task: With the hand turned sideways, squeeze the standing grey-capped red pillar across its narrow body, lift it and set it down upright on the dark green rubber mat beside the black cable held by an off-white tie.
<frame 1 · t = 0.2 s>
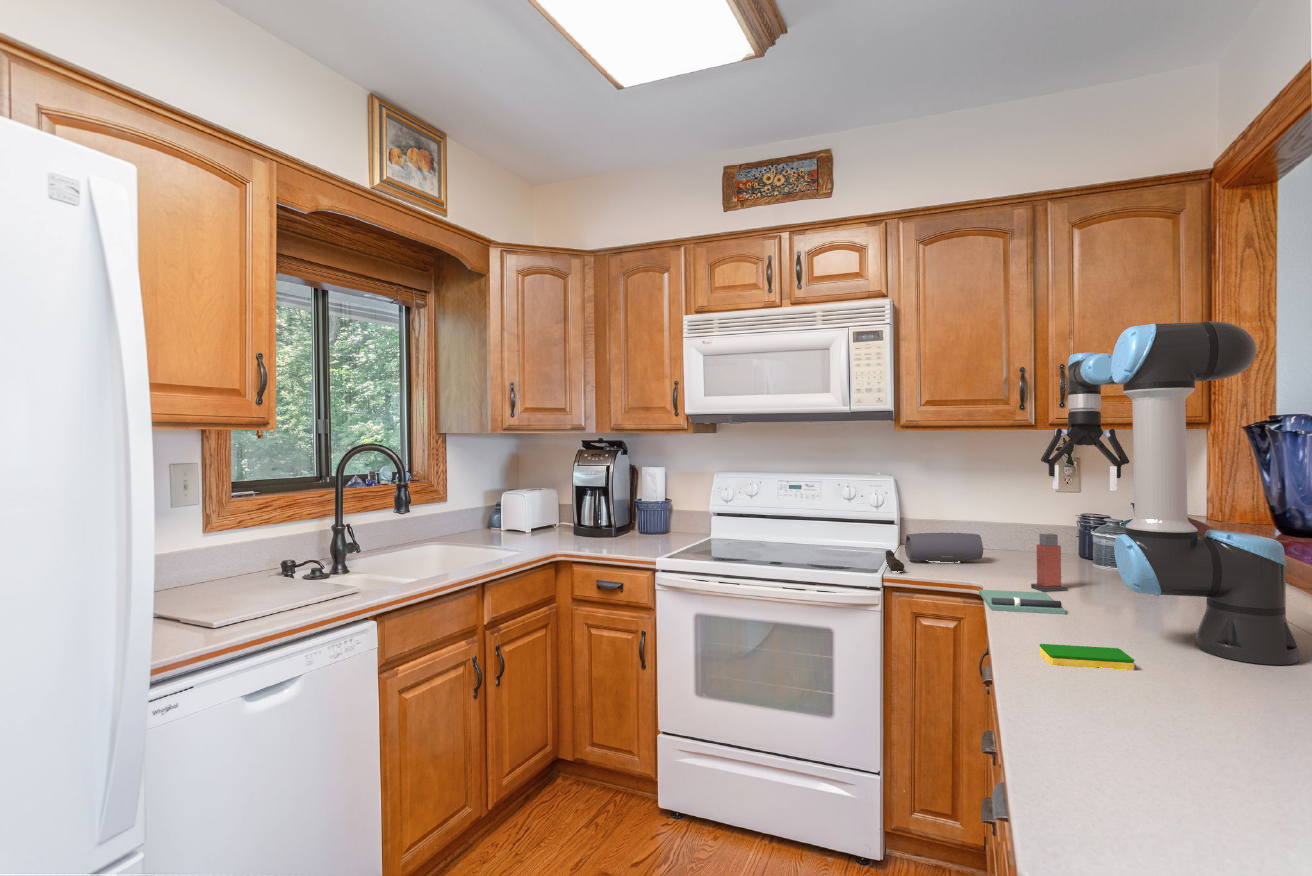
hand: (1084, 490, 182), 27 cm above the counter, tool pointing down, fingers open, 13 cm apart
cutting mat: (1019, 603, 172), on the counter
dish sponge: (1085, 665, 128), on the counter
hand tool: (890, 569, 219), on the counter
bluetooth speaker: (943, 563, 226), on the counter
grey-capped red pillar: (1049, 589, 186), on the counter
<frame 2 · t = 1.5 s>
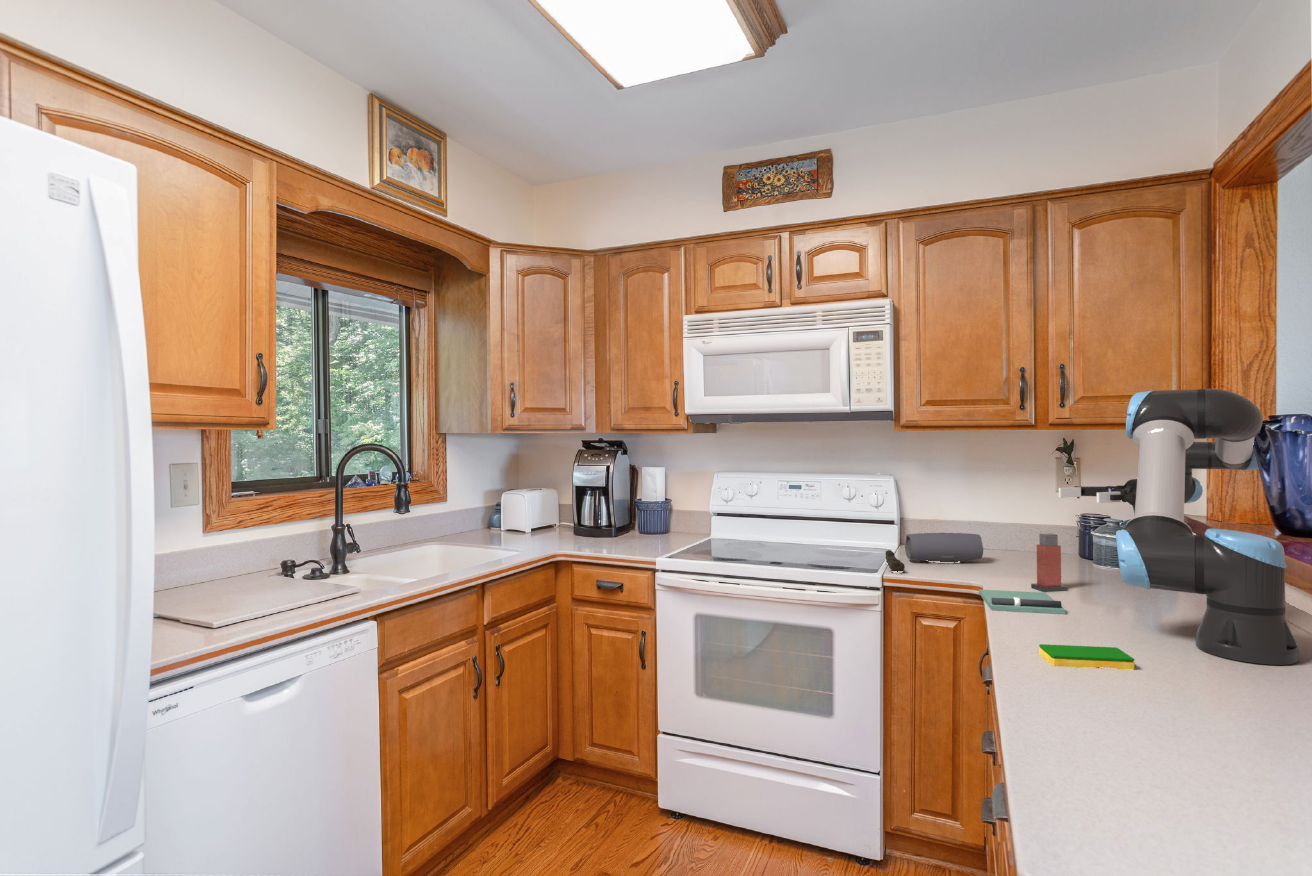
hand: (1077, 495, 187), 26 cm above the counter, tool horizontal, fingers open, 13 cm apart
nothing on the counter moved.
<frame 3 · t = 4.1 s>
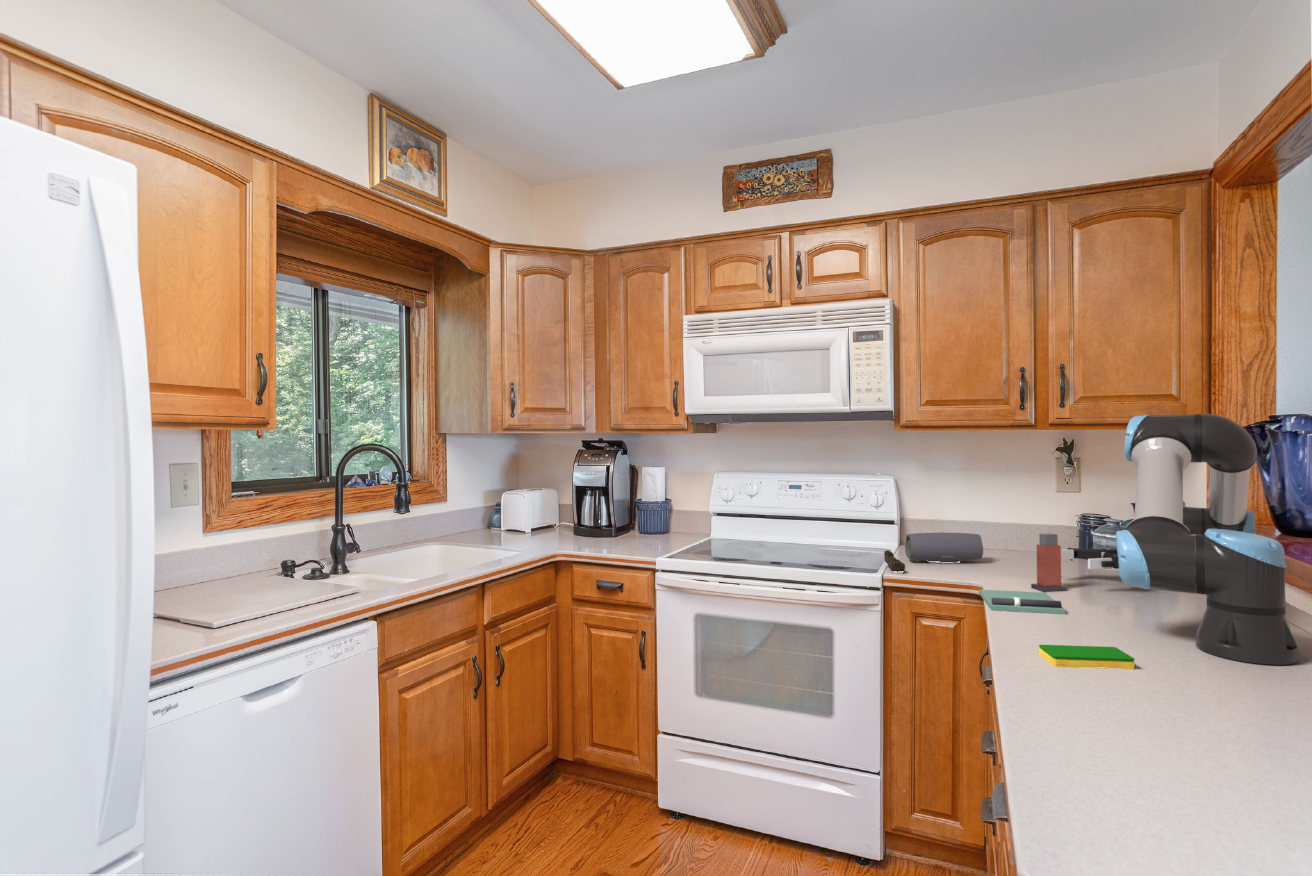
hand: (1069, 559, 187), 8 cm above the counter, tool horizontal, fingers open, 13 cm apart
nothing on the counter moved.
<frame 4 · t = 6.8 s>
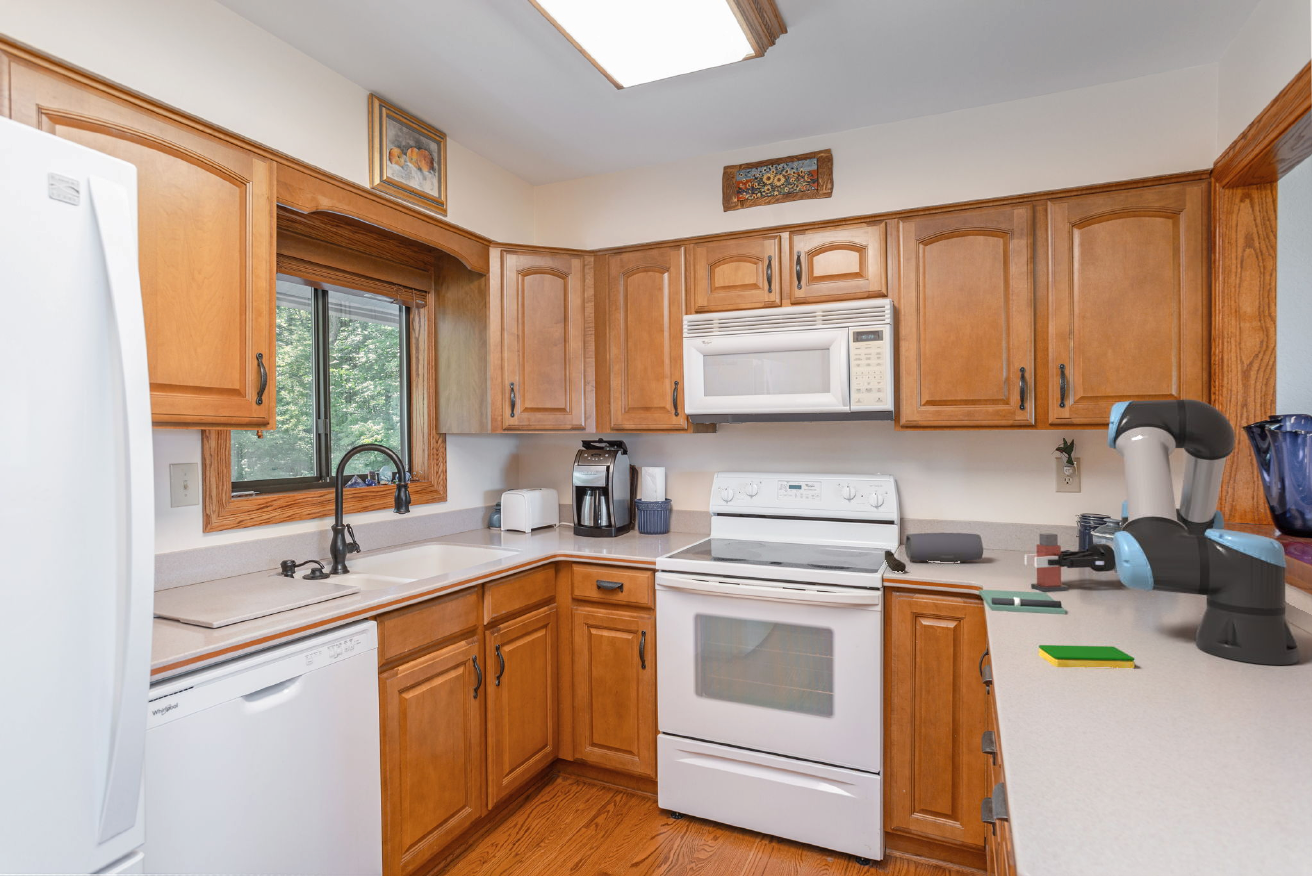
hand: (1030, 561, 185), 8 cm above the counter, tool horizontal, fingers closed on grey-capped red pillar, 3 cm apart
grey-capped red pillar: (1049, 589, 186), on the counter, touching gripper
everything else where it was.
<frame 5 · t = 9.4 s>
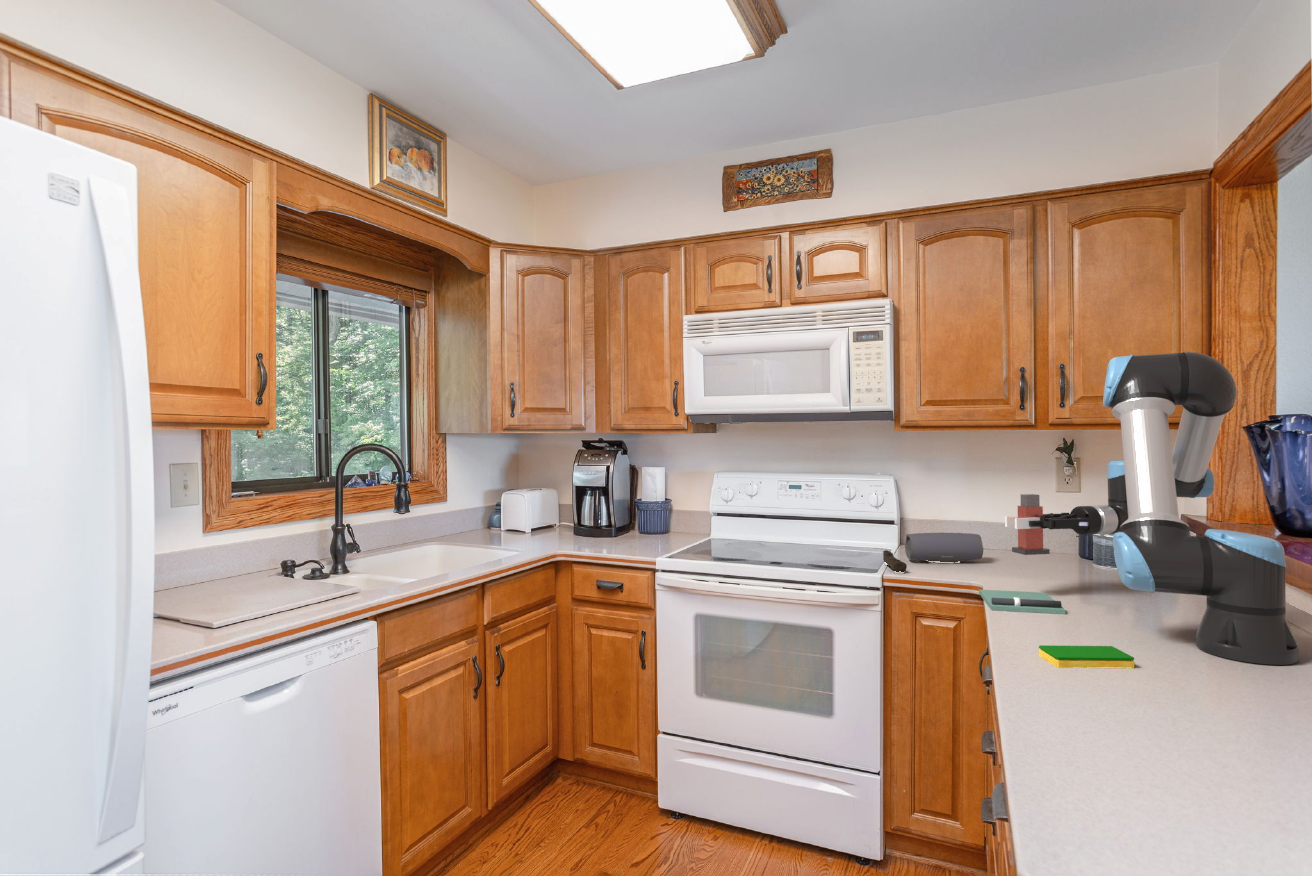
hand: (1011, 522, 176), 20 cm above the counter, tool horizontal, fingers closed on grey-capped red pillar, 3 cm apart
grey-capped red pillar: (1030, 552, 177), point 12 cm above the counter, touching gripper
everything else where it was.
when the fingers open (11 cm above the counter, at t = 12.3 s): grey-capped red pillar drops 1 cm, resting on cutting mat.
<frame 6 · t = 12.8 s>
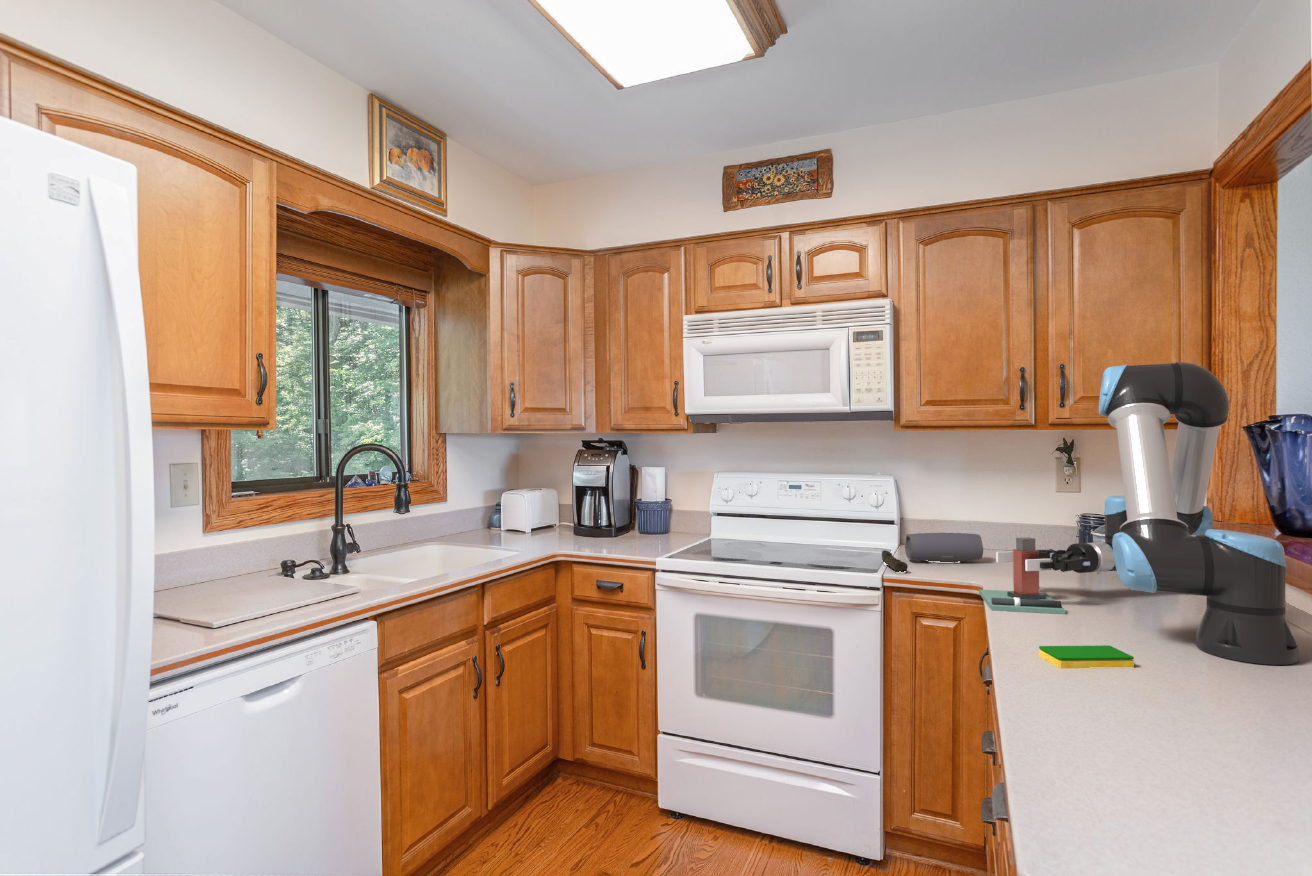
hand: (1011, 561, 173), 10 cm above the counter, tool horizontal, fingers open, 10 cm apart
grey-capped red pillar: (1026, 597, 173), point 1 cm above the counter, touching cutting mat
everything else where it was.
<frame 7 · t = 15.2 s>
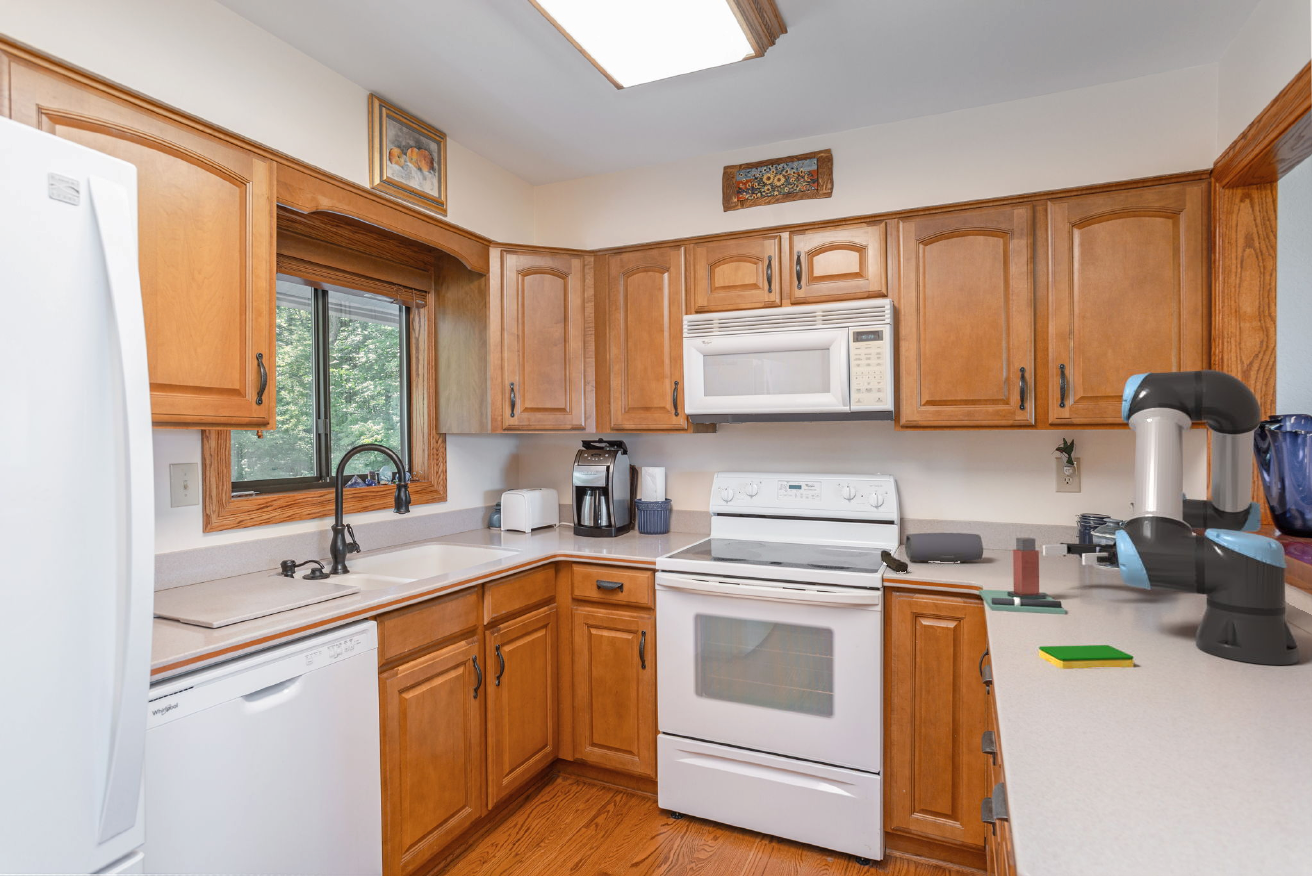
hand: (1062, 554, 175), 12 cm above the counter, tool horizontal, fingers open, 13 cm apart
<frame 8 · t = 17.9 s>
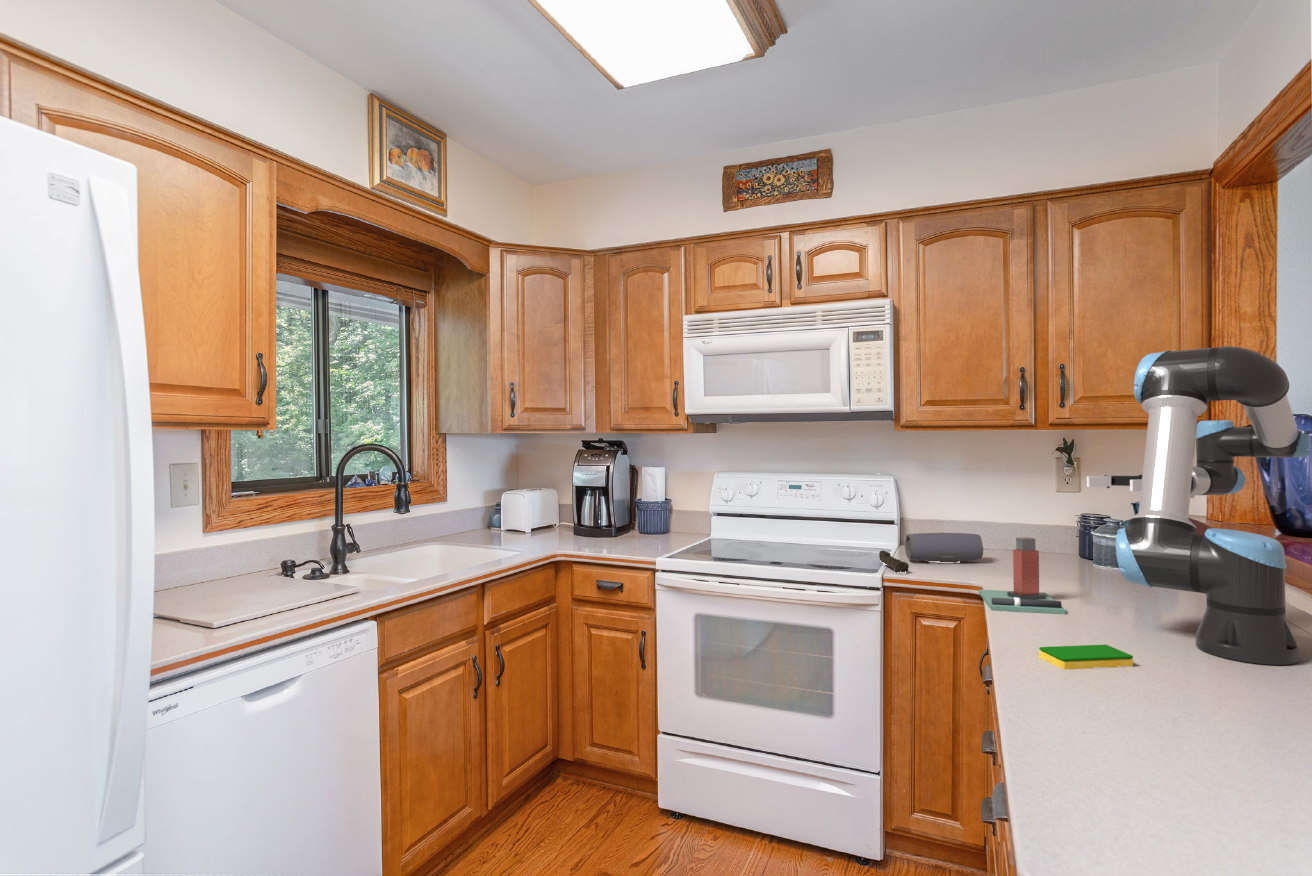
hand: (1108, 483, 172), 30 cm above the counter, tool horizontal, fingers open, 13 cm apart
at the end: grey-capped red pillar inside the target area on the cutting mat (0.7 cm from its centre), point 1.0 cm above the cutting mat's base; grey-capped red pillar tilted 0°; the gripper is holding nothing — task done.
